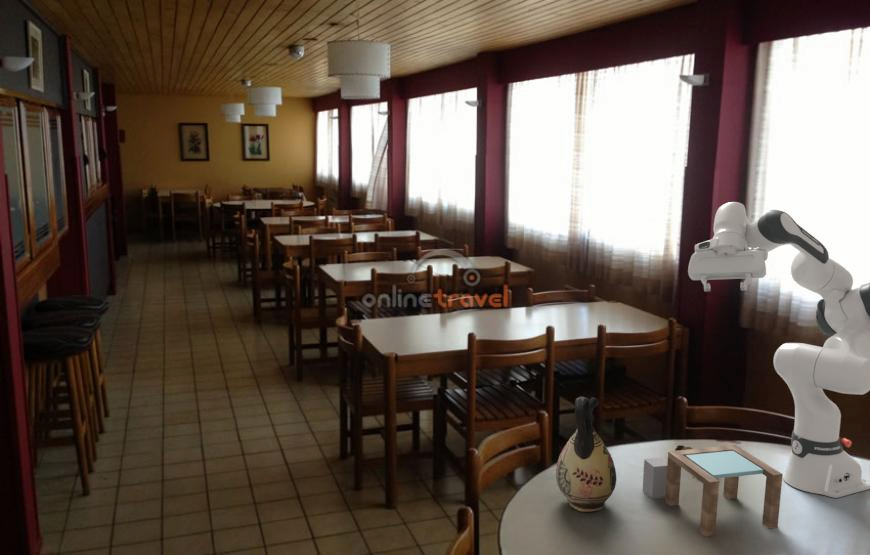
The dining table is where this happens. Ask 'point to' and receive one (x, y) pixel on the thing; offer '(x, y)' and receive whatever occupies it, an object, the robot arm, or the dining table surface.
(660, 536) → the dining table surface
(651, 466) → the light grey block
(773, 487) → the trapdoor frame
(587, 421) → the ceramic jug
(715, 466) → the trapdoor
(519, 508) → the dining table surface
